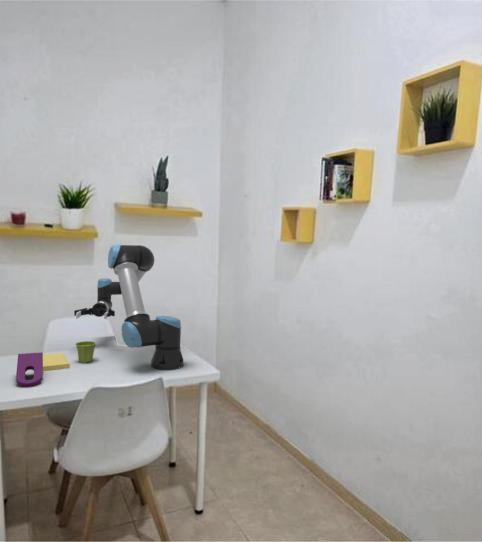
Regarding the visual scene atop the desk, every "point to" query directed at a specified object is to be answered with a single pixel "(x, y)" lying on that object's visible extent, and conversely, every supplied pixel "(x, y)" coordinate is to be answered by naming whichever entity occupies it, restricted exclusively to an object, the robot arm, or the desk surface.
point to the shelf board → (55, 362)
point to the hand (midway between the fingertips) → (90, 316)
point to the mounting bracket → (29, 368)
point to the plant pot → (85, 351)
